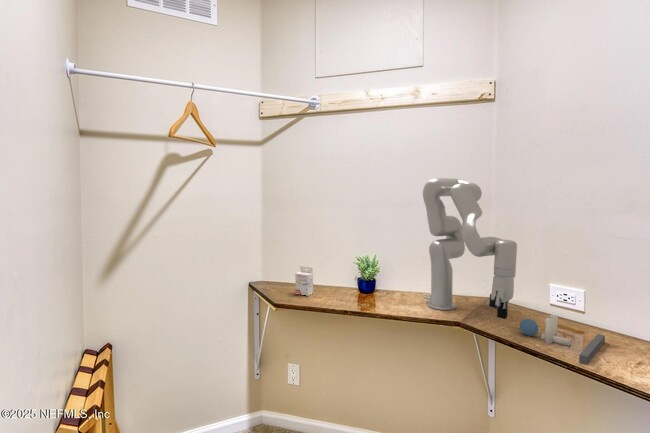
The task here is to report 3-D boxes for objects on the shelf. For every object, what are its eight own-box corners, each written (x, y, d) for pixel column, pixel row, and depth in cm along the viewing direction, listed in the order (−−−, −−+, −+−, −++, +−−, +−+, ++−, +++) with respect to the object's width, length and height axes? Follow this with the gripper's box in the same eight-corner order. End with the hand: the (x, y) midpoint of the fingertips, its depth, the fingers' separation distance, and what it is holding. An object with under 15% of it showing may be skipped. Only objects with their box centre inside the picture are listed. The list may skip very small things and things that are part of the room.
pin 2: (548, 338, 126) (549, 315, 126) (550, 337, 127) (551, 314, 127) (555, 340, 124) (556, 317, 124) (557, 338, 126) (558, 315, 125)
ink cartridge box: (295, 294, 186) (294, 267, 186) (300, 292, 191) (300, 265, 190) (308, 297, 182) (307, 269, 181) (313, 294, 186) (313, 267, 185)
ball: (537, 330, 124) (528, 341, 127) (544, 325, 128) (535, 336, 131) (522, 317, 128) (513, 329, 131) (529, 313, 132) (520, 324, 134)
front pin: (540, 335, 125) (569, 342, 119) (542, 331, 126) (570, 338, 120) (541, 340, 126) (569, 347, 120) (543, 336, 127) (571, 343, 121)
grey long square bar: (579, 362, 108) (579, 354, 108) (597, 340, 124) (597, 333, 124) (587, 364, 107) (587, 356, 106) (604, 342, 122) (604, 335, 122)
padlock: (488, 306, 163) (488, 275, 162) (490, 304, 166) (490, 273, 165) (504, 309, 159) (504, 276, 158) (506, 307, 162) (506, 275, 161)
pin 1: (544, 342, 123) (544, 318, 122) (546, 340, 124) (546, 317, 124) (551, 344, 121) (551, 320, 121) (553, 342, 123) (554, 319, 122)
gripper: (502, 267, 143) (500, 310, 145) (486, 273, 133) (483, 319, 135) (522, 270, 137) (519, 315, 139) (506, 277, 128) (504, 325, 129)
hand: (501, 317), depth 137 cm, fingers closed
